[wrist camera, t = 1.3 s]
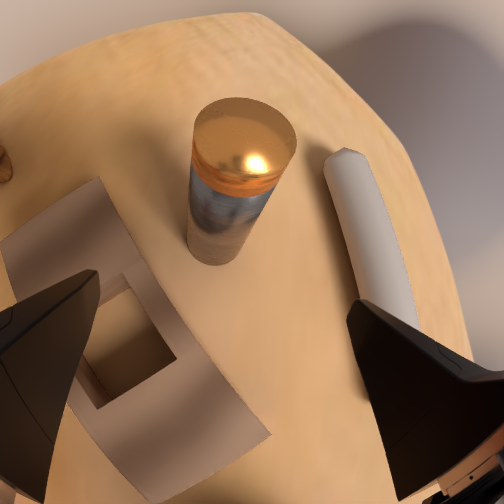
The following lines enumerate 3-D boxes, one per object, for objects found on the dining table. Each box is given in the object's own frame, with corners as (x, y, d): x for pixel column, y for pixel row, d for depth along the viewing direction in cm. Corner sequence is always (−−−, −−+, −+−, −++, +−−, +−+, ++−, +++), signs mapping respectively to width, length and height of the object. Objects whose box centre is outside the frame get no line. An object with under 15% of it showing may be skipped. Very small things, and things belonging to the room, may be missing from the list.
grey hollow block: (257, 421, 20) (271, 434, 16) (157, 483, 16) (153, 506, 12) (109, 201, 23) (98, 176, 19) (21, 258, 19) (-1, 243, 15)
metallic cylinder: (252, 247, 24) (316, 150, 12) (206, 276, 23) (233, 190, 11) (221, 205, 25) (256, 88, 13) (176, 230, 23) (175, 115, 11)
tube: (318, 142, 25) (388, 418, 18) (368, 136, 25) (443, 396, 18) (313, 171, 30) (369, 405, 23) (357, 164, 30) (417, 387, 23)
